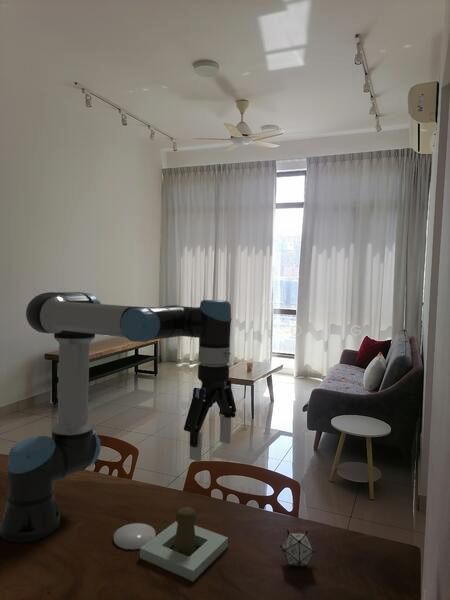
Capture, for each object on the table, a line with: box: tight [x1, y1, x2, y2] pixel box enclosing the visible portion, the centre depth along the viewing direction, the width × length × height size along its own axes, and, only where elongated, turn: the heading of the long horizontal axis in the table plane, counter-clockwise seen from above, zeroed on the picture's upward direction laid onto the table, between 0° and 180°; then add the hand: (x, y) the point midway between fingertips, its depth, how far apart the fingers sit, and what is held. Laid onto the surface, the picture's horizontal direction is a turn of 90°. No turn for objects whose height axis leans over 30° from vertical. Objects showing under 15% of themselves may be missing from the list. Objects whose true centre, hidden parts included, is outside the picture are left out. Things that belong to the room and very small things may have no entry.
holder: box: [139, 520, 229, 582], centre depth 112 cm, size 16×16×2 cm
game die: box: [279, 529, 317, 570], centre depth 108 cm, size 9×8×10 cm
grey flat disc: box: [113, 522, 157, 551], centre depth 118 cm, size 11×11×1 cm
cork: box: [172, 506, 198, 557], centre depth 112 cm, size 6×6×11 cm
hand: (210, 450), depth 107 cm, fingers open, 13 cm apart
